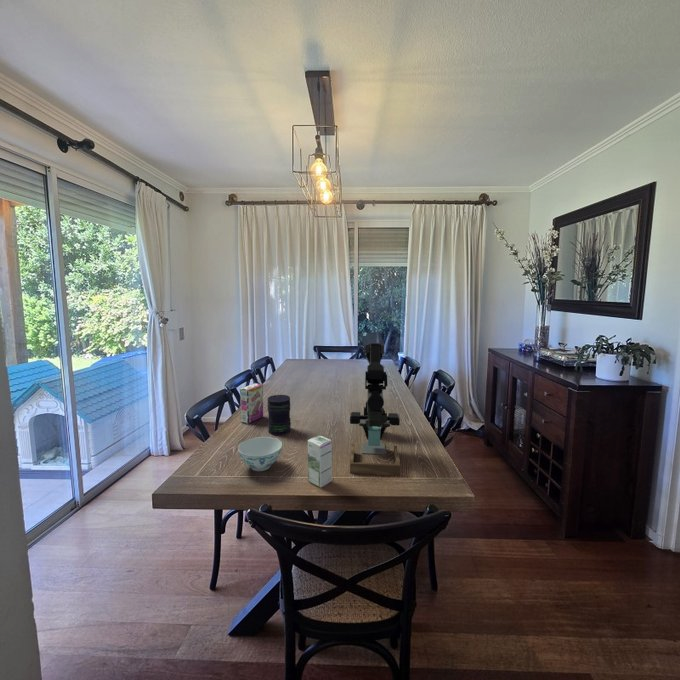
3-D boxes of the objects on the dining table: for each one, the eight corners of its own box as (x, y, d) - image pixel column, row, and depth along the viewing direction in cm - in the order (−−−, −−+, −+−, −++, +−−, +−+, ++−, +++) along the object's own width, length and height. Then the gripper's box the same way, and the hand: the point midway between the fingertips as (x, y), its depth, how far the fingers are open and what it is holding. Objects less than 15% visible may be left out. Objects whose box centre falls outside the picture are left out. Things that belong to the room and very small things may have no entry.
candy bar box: (248, 424, 162) (247, 389, 160) (240, 422, 164) (239, 388, 162) (264, 416, 172) (263, 384, 170) (256, 414, 174) (255, 382, 172)
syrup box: (332, 481, 115) (332, 439, 113) (319, 488, 111) (319, 445, 109) (320, 474, 119) (320, 434, 117) (307, 482, 115) (306, 439, 113)
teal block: (368, 440, 139) (368, 426, 138) (379, 440, 139) (379, 426, 138) (368, 445, 135) (368, 430, 134) (380, 446, 135) (380, 431, 134)
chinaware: (232, 463, 126) (232, 443, 125) (271, 452, 135) (271, 433, 134) (248, 482, 114) (247, 460, 113) (289, 469, 123) (289, 448, 122)
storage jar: (295, 431, 155) (294, 398, 153) (276, 437, 148) (275, 403, 146) (282, 424, 162) (281, 393, 160) (263, 430, 155) (262, 397, 153)
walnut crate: (351, 452, 135) (351, 444, 135) (396, 454, 134) (396, 445, 133) (349, 473, 120) (350, 463, 120) (400, 475, 119) (400, 465, 119)
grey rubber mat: (362, 443, 143) (362, 442, 143) (384, 444, 143) (384, 443, 142) (362, 453, 134) (362, 453, 134) (385, 454, 134) (385, 454, 134)
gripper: (349, 407, 127) (349, 448, 129) (401, 409, 126) (400, 450, 128) (350, 397, 138) (350, 435, 140) (398, 398, 137) (397, 437, 139)
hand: (374, 439), depth 137 cm, fingers closed on teal block, 4 cm apart
